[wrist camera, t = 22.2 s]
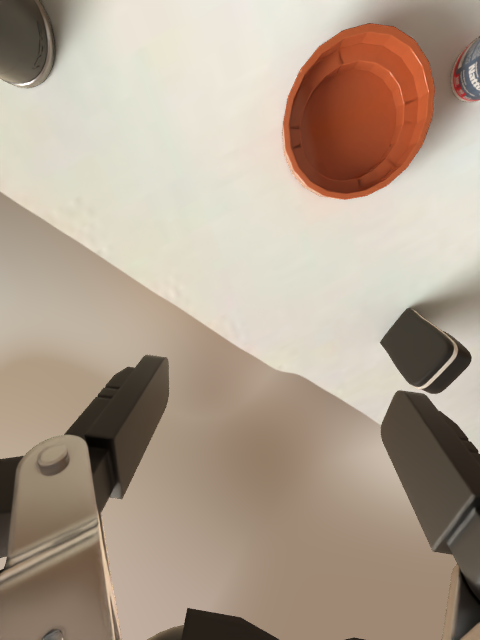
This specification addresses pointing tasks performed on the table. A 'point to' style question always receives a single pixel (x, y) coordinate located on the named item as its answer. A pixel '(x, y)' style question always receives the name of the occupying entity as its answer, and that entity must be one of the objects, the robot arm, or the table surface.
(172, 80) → the table surface
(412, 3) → the table surface
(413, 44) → the terracotta bowl
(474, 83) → the pill bottle
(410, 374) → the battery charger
